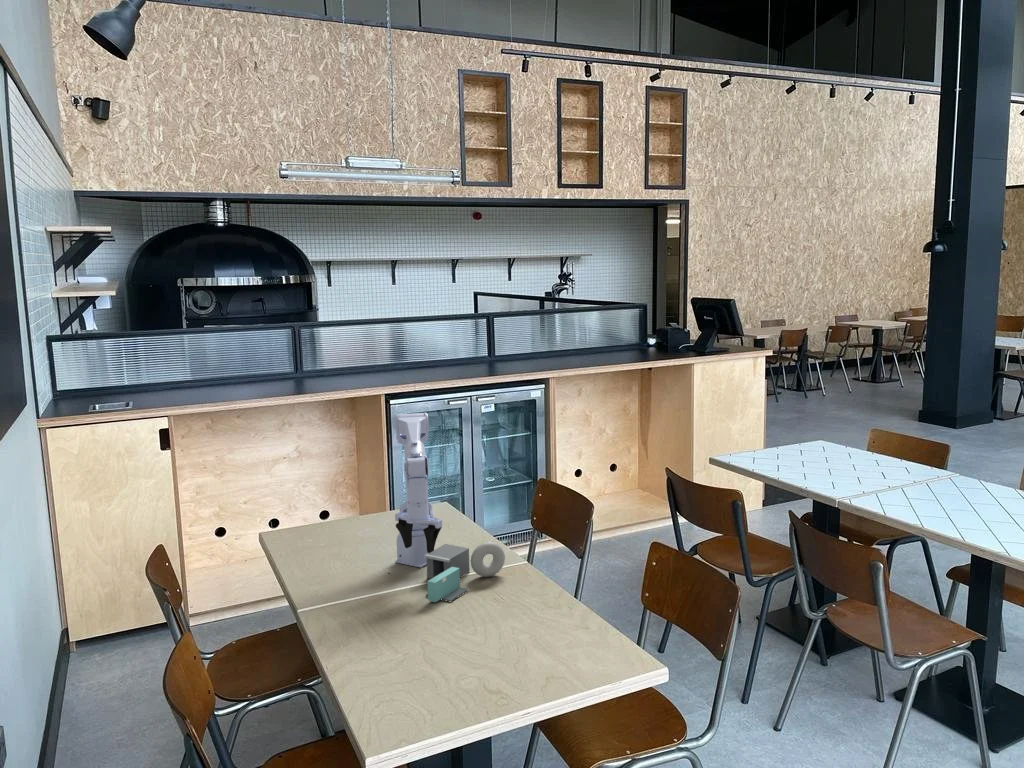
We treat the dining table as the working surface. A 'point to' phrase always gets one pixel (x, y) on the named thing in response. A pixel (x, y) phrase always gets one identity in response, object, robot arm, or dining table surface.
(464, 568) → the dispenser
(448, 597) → the coaster
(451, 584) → the tall teal prism
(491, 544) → the donut
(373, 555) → the dining table surface
